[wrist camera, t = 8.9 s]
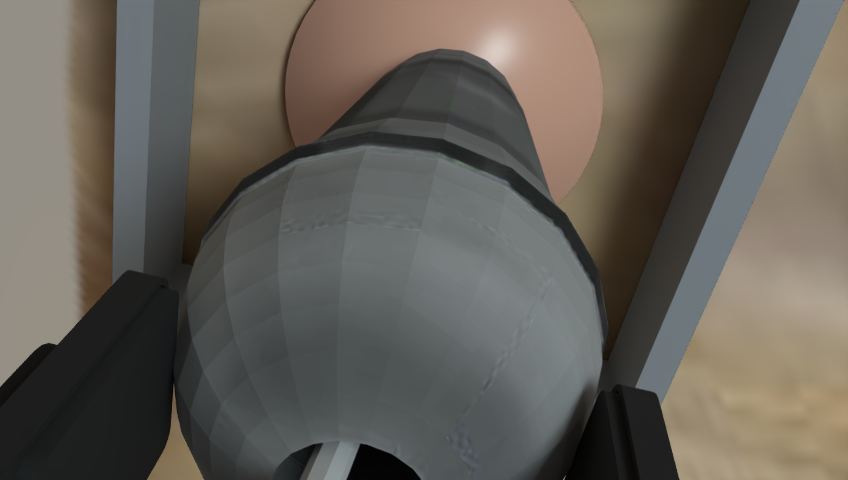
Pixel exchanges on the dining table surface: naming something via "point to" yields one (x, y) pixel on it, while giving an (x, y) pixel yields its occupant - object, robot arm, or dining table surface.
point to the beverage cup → (394, 299)
